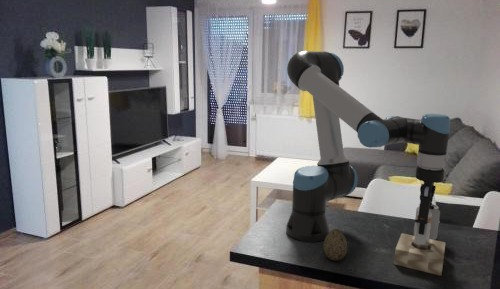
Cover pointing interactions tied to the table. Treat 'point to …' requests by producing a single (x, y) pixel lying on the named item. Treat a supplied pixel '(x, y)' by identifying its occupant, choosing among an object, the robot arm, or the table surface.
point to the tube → (425, 247)
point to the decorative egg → (335, 245)
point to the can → (433, 223)
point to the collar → (420, 255)
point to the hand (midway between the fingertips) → (422, 235)
